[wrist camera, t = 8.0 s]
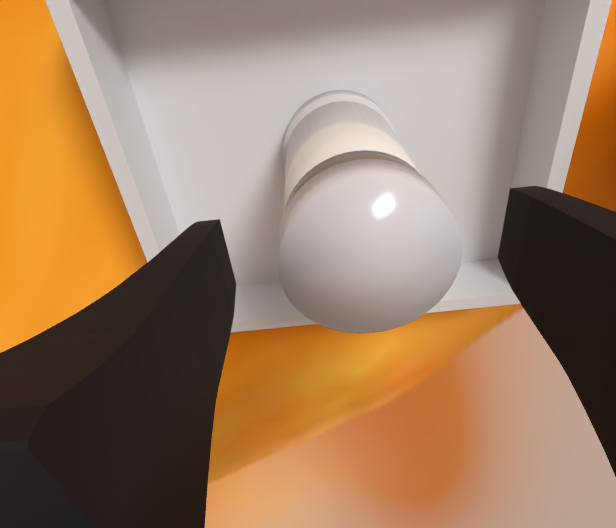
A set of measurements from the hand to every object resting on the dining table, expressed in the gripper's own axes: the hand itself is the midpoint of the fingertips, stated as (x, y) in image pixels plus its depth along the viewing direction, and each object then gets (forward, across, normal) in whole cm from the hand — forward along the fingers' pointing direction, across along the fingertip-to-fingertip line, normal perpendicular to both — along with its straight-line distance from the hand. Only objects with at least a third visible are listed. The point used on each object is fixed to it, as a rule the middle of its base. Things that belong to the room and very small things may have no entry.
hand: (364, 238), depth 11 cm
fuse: (+7, 0, 0) cm, 7 cm away
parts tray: (+7, 0, 0) cm, 7 cm away
